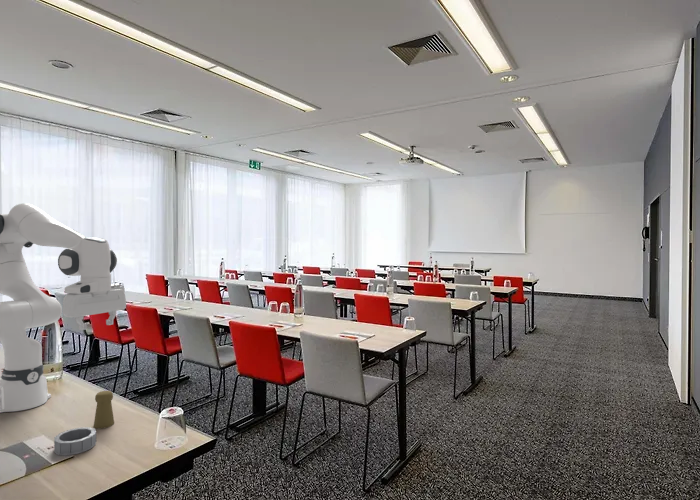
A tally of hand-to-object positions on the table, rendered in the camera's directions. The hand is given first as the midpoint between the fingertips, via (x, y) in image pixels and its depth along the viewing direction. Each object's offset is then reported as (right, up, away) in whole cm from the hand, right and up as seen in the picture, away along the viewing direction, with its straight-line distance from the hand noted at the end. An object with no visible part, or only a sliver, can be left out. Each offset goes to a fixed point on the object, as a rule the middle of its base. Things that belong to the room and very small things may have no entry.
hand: (96, 327), depth 144 cm
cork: (+3, -33, 0) cm, 33 cm away
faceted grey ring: (+3, -33, -16) cm, 37 cm away
